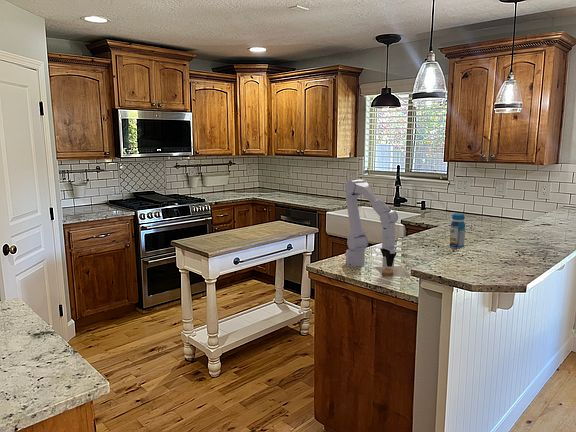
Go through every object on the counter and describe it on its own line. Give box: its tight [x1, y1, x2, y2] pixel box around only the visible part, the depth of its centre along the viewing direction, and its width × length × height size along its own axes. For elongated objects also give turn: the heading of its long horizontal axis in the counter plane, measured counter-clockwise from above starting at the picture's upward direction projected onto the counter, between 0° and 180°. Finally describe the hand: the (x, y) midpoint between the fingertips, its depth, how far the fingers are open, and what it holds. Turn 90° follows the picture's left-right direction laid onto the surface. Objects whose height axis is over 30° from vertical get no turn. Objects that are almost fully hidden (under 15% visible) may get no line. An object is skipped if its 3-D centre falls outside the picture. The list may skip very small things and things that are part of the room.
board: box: [374, 265, 412, 278], centre depth 215 cm, size 13×17×1 cm
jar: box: [382, 268, 394, 275], centre depth 211 cm, size 5×5×5 cm
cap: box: [381, 256, 395, 268], centre depth 211 cm, size 5×5×5 cm
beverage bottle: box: [449, 212, 466, 249], centre depth 263 cm, size 8×8×20 cm
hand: (387, 264), depth 211 cm, fingers closed on cap, 5 cm apart
